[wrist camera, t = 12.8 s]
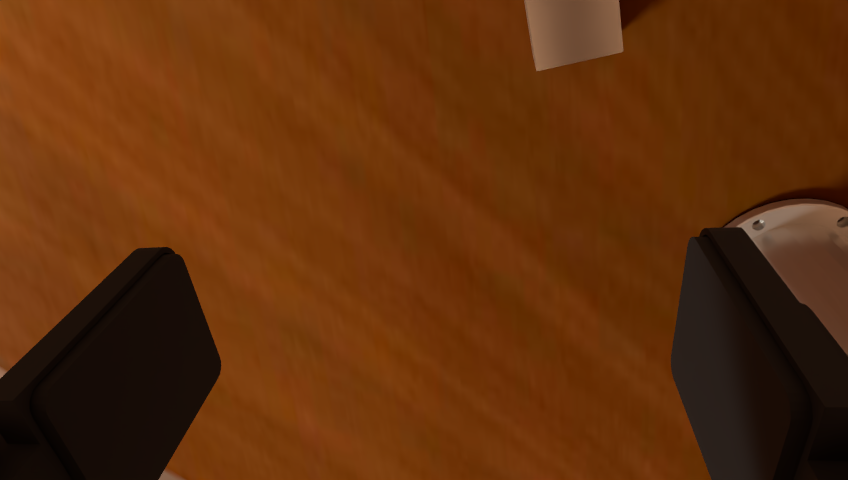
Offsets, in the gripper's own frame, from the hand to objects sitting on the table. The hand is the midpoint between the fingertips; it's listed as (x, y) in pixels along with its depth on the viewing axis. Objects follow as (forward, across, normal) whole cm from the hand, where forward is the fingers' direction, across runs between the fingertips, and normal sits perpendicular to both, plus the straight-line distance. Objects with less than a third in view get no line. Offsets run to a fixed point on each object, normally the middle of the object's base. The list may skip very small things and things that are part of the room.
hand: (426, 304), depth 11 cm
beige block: (+31, -6, 0) cm, 31 cm away
